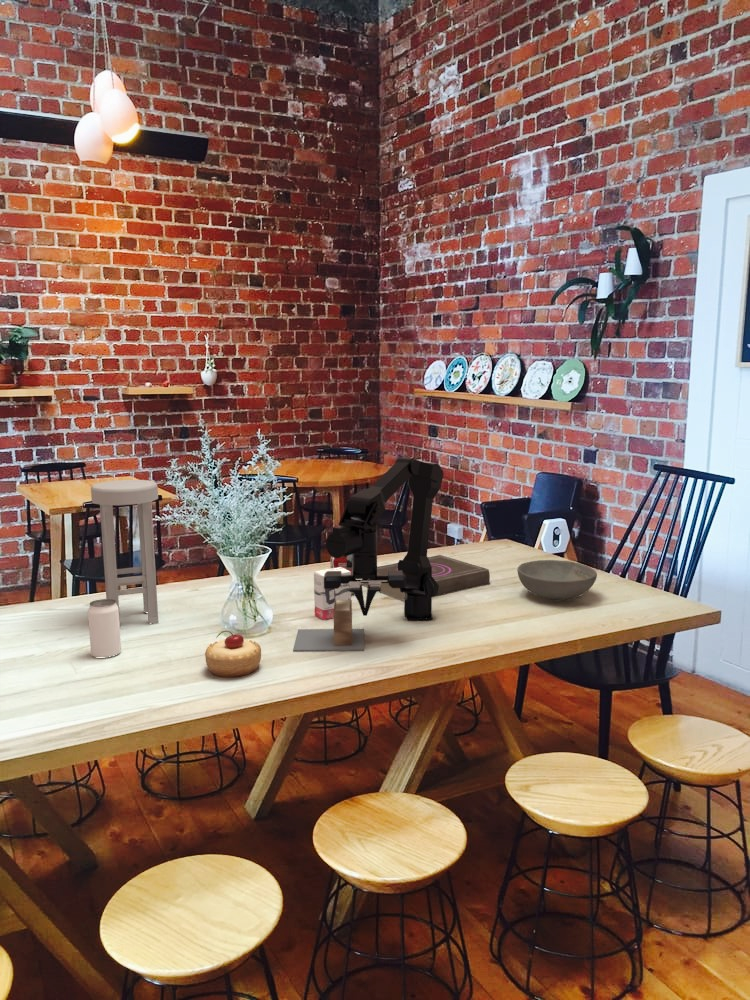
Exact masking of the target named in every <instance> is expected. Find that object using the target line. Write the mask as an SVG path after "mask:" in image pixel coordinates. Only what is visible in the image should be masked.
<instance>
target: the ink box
mask: <svg viewBox="0 0 750 1000" xmlns="http://www.w3.org/2000/svg"><path fill="white" fill-rule="evenodd" d="M327 571H341V575H351V571H348V570H346V569H344V568H342V567H338V568H332V569H331V568H326V569H321V570H316V571H314V572H313V588H314V589H313V591H314V593H313V595H314V616H315V617H317V618H318V619H320V620H322V621H326V620H331V619H334V614H333V612H334V604H335V600H352V594H351V592H349V583H346V584H341V586H340V587H339V588H338V589H325V588H324V575H325V573H326V572H327Z"/></svg>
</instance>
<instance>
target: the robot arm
mask: <svg viewBox="0 0 750 1000" xmlns="http://www.w3.org/2000/svg"><path fill="white" fill-rule="evenodd" d="M443 478H444V470H443V469H442V467H441V465H440V463H437V462H424V461H420V460H418V459H416V458H414V457H413V458H412V457H402V456H401V457H399V458H397V459H396V460H395V463H393V465H392V466H391V467H390V468H389V469H388V470H387V471H386V472H385V473H384V474H383V475H382V476H381V477H380V478H379V479H378V480H377V481H376V482H374V483H373V485H372V486H370V487H367V488H365V489H361V490H360V491H358V492H356V493H355V494H352V495H351V497H349V499H348V501H347V504H346V506H345V507H344V511H343V513H342V514H341V515H342V516H341V517H340V519H339V523H338V526H333V527H332V532H331V533H330V534H329V535H328V536H327V538H326V541H325V548H326V551H327V553H328V554H329V555H330V557H334V558H341V557H344V556H347V568H352V575H341V571H327V572H326V573H325V575H324V588H325V589H338V588H339V587H340V586H341V584H346V583H349V592H354V593H353V594H354V596H355V598H356V600H357V602H358V604H359V607H360V610H361V613H362V615H363V616H364V617H365V616H366V617H367V616H368V613H369V611H370V607H371V604H372V601H373V600H374V597H375V596H376V593H380V591H381V586H380V585H381V583H389V585H390V586H391V587H392V588H400V592H402V593H403V592H404V593H406V597H405V598H404V602H403V604H404V605H403V612H404V613H403V614H404V617H405V618H406V620H408V621H424V620H425V621H431V620H433V619H434V618H433V614H432V611H433V610H432V607H433V606H432V601H433V598H434V597H436V596H435V595H436V594H437V593H438V589H439V585H438V584H437V582H436V581H435V580H434V579H433V577H432V566H431V564H430V562H429V559H428V557H429V556H428V549H429V540H430V539H429V538H430V531H431V530H430V528H431V521H432V512H433V503H434V498H435V497H436V495H437V494H439V491H441V488H442V482H443ZM407 481H408V488H409V490H410V493H411V495H412V507H411V516H410V526H409V532H408V533H409V535H408V542H407V543H408V544H407V553H406V555H404V557H403V559H399V560H398V562H397V563H398V570H397V571H388V575H377V567H378V530H379V529H382V528H383V524H382V523H381V522H379V521H378V520H379V519H380V518H381V516H382V515H383V514H384V512H385V511H386V508H387V507H386V506H387V505H386V503H387V502H388V500H390V498H392V497H393V495H394V494H395V493H396V492H398V490H399V489H401V488H402V486H404V484H406V482H407ZM351 554H352V555H351ZM368 579H369V580H368ZM364 583H368V587H366V588H367V590H366V597H365V599H366V600H365V599H364V591H363V586H362V584H364Z"/></svg>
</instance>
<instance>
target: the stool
mask: <svg viewBox="0 0 750 1000" xmlns="http://www.w3.org/2000/svg"><path fill="white" fill-rule="evenodd" d="M158 490H159V489H158V484H157V483H156V482H155V481H154V480H148V479H147V480H146V479H122V480H117V479H116V480H110V481H103V482H98V483H95V484H91V486H90V494H91V496H90V498H91V502H92V504H95V505H99V509H100V524H101V538H102V539H101V540H102V554H103V555H102V556H103V567H104V568H103V569H104V570H103V571H104V583H105V584H104V585H105V599H114V600H116V604H117V606H118V609H119V610H120V600H119V597H120V596H127V595H136V594H137V595H138V594H142V597H143V598H142V599H143V601H142V602H143V612H144V611H145V612H148V614H147V619H148V621H149V622H148V621H147V622H148V624H149V623H158V624H159V609H158V592H157V591H158V589H157V576H156V575H157V574H156V573H157V572H156V571H157V570H156V557H155V539H154V520H153V502H154V501H156V500H158V499H159V491H158ZM127 505H128V506H129V505H130V506H131V505H137V515H138V531H139V532H138V534H139V550H140V566H136V567H135V566H133V567H125V568H117V556H116V555H117V553H116V541H115V540H116V538H115V524H114V510H113V509H114V507H113V506H127ZM134 573H135V574H136V573H141V575H134V576H123V577H118V575H125V574H134ZM132 585H142V587H136V588H135V587H134V588H124V589H119V587H121V586H122V587H123V586H124V587H125V586H132ZM119 623H120V624H121V617H120V613H119Z"/></svg>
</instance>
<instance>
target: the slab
mask: <svg viewBox="0 0 750 1000" xmlns="http://www.w3.org/2000/svg"><path fill="white" fill-rule="evenodd" d="M352 604H353V601H352V599H351V600H335V604H334V612H333V614H334V618H333V629H334V646H340V645H352V629H353V605H352Z"/></svg>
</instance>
